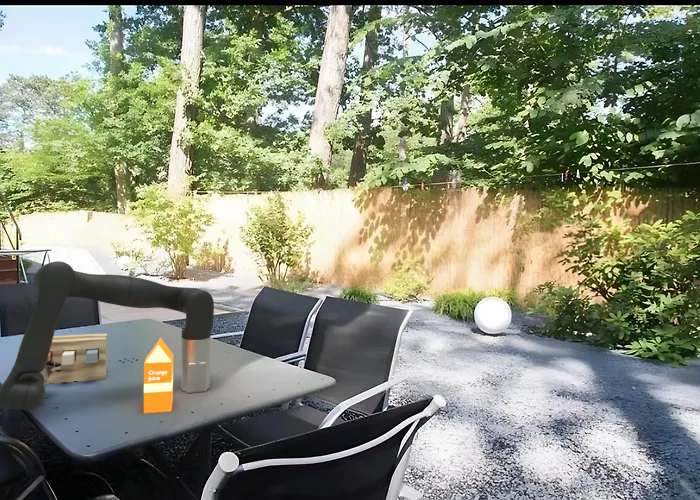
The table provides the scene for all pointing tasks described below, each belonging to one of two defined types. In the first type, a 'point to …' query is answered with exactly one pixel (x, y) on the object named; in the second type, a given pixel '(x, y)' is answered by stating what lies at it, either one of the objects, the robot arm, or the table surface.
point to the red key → (50, 356)
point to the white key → (68, 357)
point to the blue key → (92, 355)
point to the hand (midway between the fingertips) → (42, 361)
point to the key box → (79, 358)
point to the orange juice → (158, 379)
